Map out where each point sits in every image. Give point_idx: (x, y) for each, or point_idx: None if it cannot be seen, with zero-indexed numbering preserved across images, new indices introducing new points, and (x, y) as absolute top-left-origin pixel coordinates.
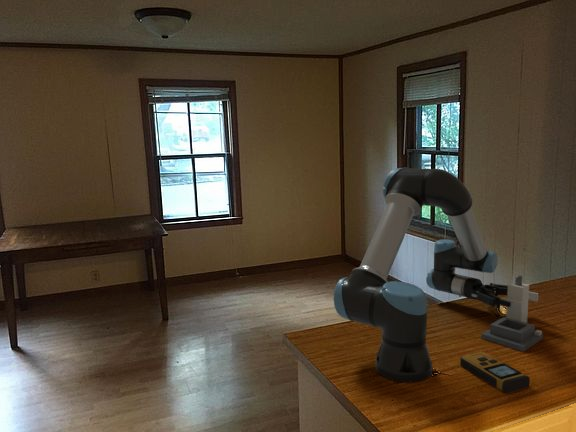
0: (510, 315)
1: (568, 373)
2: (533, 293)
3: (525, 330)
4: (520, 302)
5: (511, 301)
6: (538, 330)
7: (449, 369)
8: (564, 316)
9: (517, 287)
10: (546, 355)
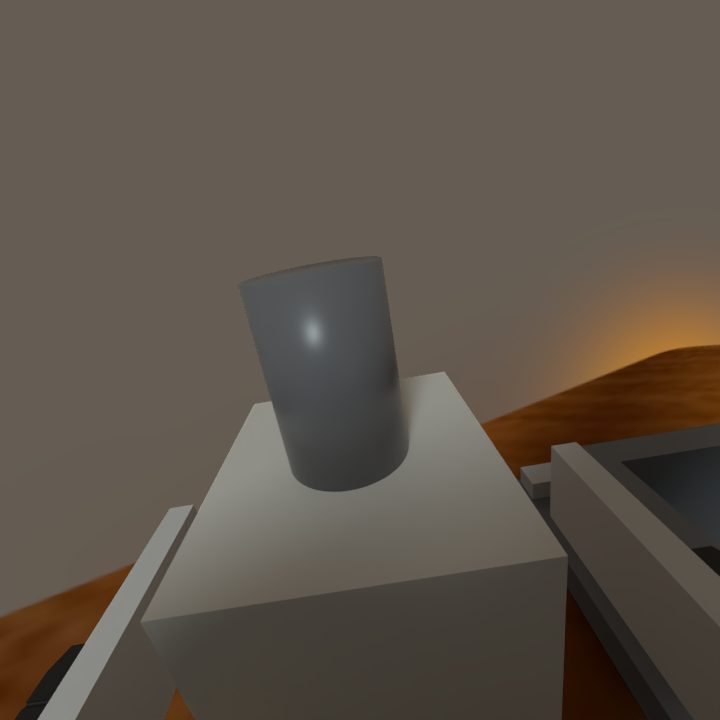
0: None
1: (636, 366)
2: (178, 538)
3: (694, 428)
4: (580, 446)
5: (658, 533)
6: (532, 478)
7: None
8: (96, 605)
9: (469, 420)
10: (629, 424)
